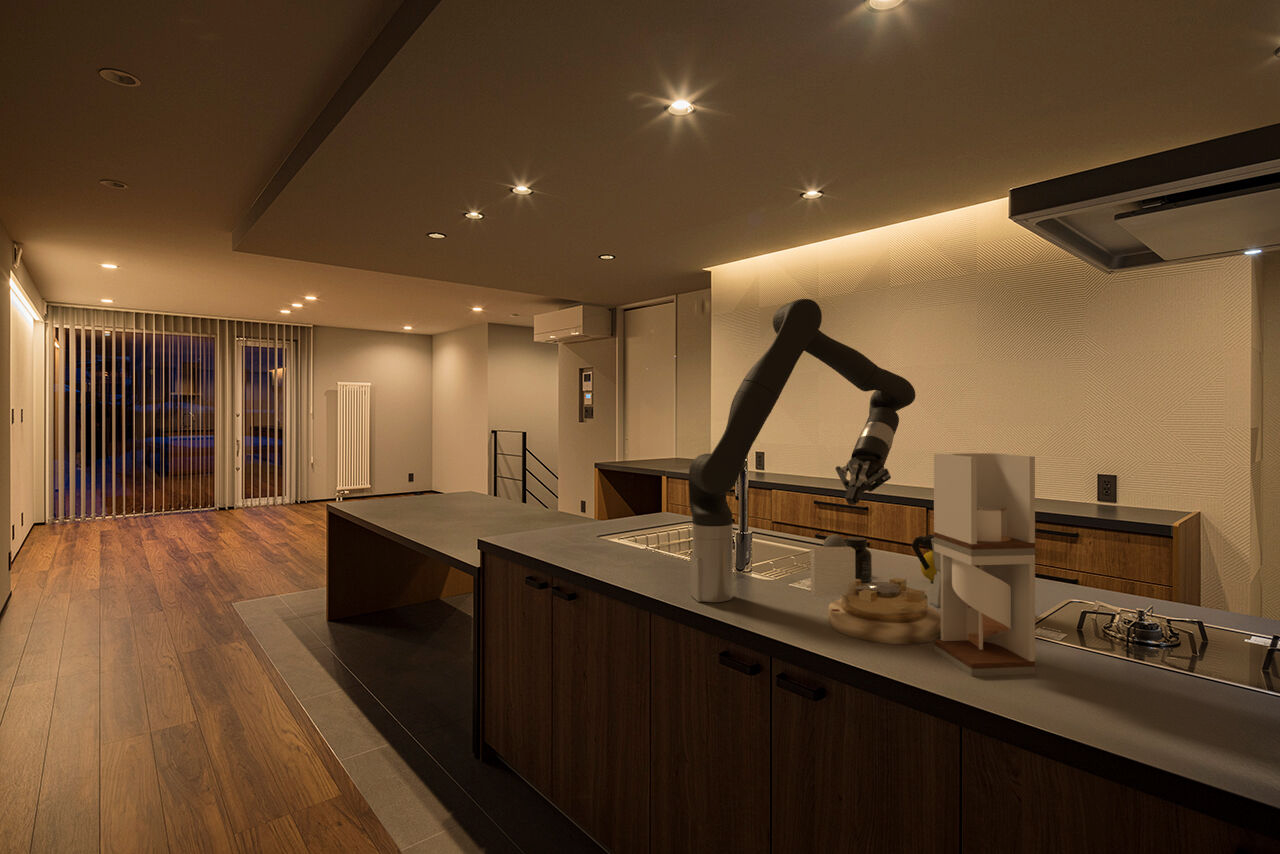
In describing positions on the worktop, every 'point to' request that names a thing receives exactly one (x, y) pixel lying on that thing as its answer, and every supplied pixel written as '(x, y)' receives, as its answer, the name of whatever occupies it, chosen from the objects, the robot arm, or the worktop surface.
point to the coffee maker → (929, 544)
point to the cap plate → (885, 627)
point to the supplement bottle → (861, 558)
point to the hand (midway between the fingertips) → (850, 502)
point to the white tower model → (986, 561)
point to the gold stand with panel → (863, 588)
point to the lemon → (930, 571)
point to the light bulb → (834, 541)
